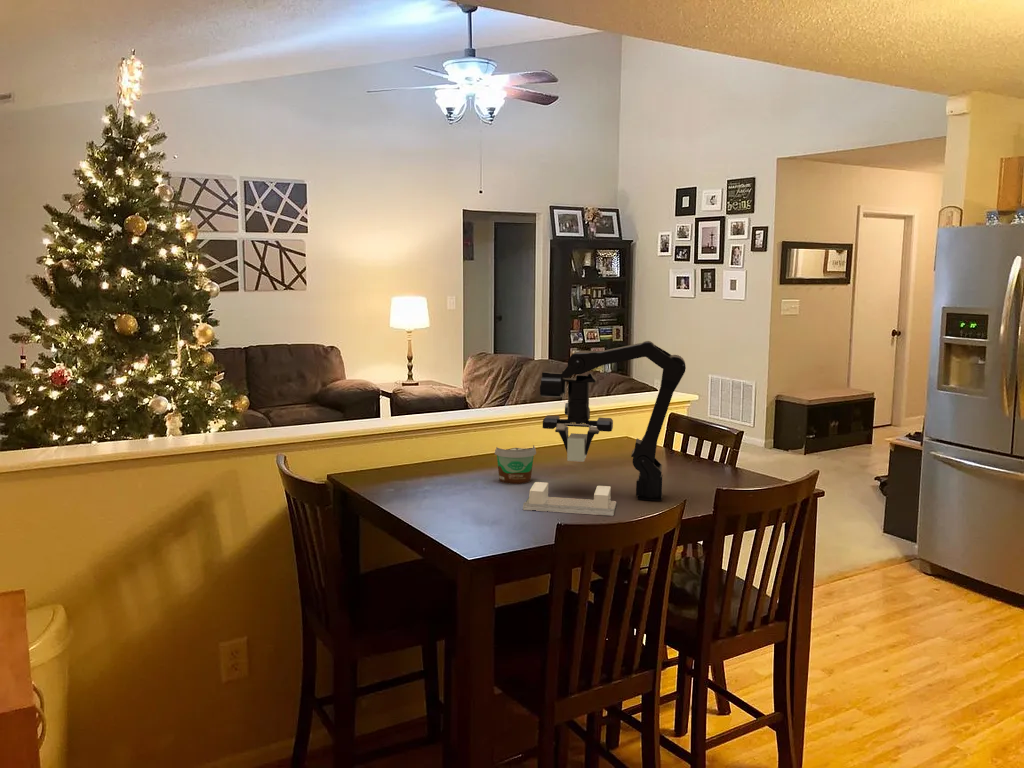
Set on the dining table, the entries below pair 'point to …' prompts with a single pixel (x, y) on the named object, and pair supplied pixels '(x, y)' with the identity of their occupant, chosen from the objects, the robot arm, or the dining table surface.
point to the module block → (576, 447)
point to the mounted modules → (540, 495)
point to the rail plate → (570, 506)
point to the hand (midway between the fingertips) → (577, 454)
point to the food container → (515, 464)
